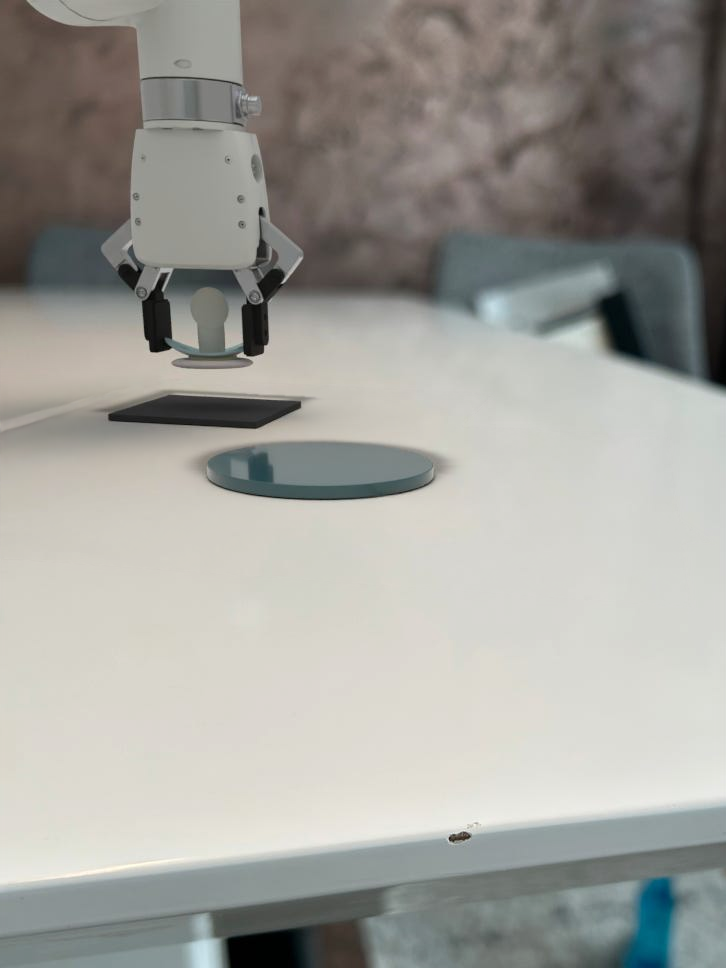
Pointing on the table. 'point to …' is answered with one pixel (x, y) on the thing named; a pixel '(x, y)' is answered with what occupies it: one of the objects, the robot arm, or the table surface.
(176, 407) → the mat
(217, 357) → the pacifier
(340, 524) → the table surface
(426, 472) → the plate
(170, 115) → the robot arm
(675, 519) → the table surface
